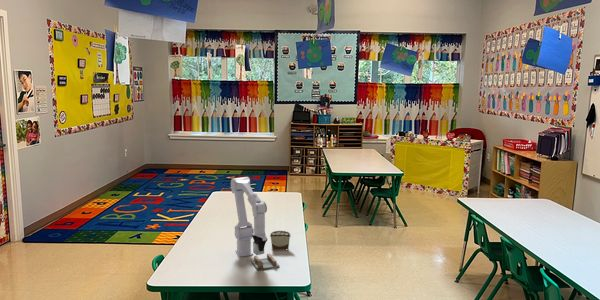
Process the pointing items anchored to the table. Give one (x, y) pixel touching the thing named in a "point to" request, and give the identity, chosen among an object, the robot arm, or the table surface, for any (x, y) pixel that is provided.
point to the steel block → (257, 248)
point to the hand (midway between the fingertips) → (259, 249)
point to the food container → (280, 240)
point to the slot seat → (264, 263)
